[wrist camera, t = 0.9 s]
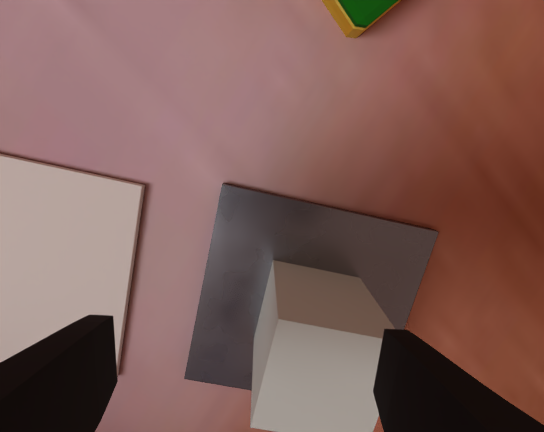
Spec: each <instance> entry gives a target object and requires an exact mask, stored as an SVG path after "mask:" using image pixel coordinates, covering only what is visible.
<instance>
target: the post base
mask: <svg viewBox="0 0 544 432" xmlns="http://www.w3.org/2000/svg"><path fill="white" fill-rule="evenodd" d="M438 233H439V232H438V231H436V230H434V229H429V228H425V227H420V226H416V225H411V224H407V223H402V222H397V221H393V220H388V219H384V218H379V217H375V216H370V215H366V214H361V213H357V212H352V211H348V210H343V209H339V208H334V207H330V206H325V205H321V204H316V203H312V202H307V201H303V200H298V199H293V198H289V197H284V196H280V195H275V194H271V193H266V192H262V191H257V190H253V189H248V188H244V187H239V186H235V185H230V184H226V183H223V184H222V188H221V193H220V198H219V203H218V208H217V213H216V219H215V224H214V229H213V234H212V239H211V244H210V249H209V254H208V260H207V265H206V270H205V275H204V280H203V285H202V290H201V295H200V301H199V306H198V311H197V316H196V321H195V326H194V331H193V337H192V342H191V347H190V352H189V357H188V362H187V367H186V372H185V378H184V379H188V380H194V381H200V382H205V383H211V384H217V385H223V386H229V387H235V388H241V389H247V390H252V372H253V346H254V336H255V332H256V328H257V324H258V319H259V315H260V311H261V307H262V303H263V299H264V295H265V291H266V287H267V282H268V278H269V274H270V270H271V266H272V262H273V260H275V261H280V262H285V263H290V264H295V265H300V266H305V267H310V268H315V269H320V270H324V271H329V272H334V273H339V274H344V275H349V276H354V277H359V278H360V279H361V280H362V282H363V283H364V285H365V286H366V288H367V289H368V290H369V292H370V293H371V295H372V296H373V298H374V299H375V300H376V302H377V303H378V305H379V306H380V308H381V309H382V311H383V312H384V313H385V315H386V316H387V318H388V319H389V321H390V322H391V323H392V325H393V326H394V328H395V329H402V330H404V327H405V325H406V322H407V319H408V316H409V313H410V311H411V308H412V305H413V302H414V299H415V297H416V294H417V291H418V288H419V286H420V283H421V280H422V277H423V274H424V272H425V269H426V266H427V263H428V260H429V258H430V255H431V252H432V249H433V246H434V244H435V241H436V238H437V235H438Z"/></svg>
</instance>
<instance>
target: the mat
mask: <svg viewBox="0 0 544 432" xmlns="http://www.w3.org/2000/svg"><path fill="white" fill-rule="evenodd" d="M144 189H145V185H143V184H139V183H134V182H130V181H125V180H120V179H116V178H111V177H106V176H102V175H97V174H93V173H88V172H83V171H79V170H74V169H70V168H65V167H60V166H56V165H51V164H46V163H42V162H37V161H33V160H28V159H23V158H19V157H14V156H9V155H5V154H0V362H2V361H4V360H6V359H8V358H10V357H11V356H13V355H15V354H17V353H19V352H21V351H22V350H24V349H26V348H28V347H30V346H31V345H33V344H35V343H37V342H39V341H40V340H42V339H44V338H46V337H48V336H49V335H51V334H53V333H55V332H57V331H58V330H60V329H62V328H64V327H66V326H68V325H69V324H71V323H73V322H75V321H77V320H79V319H81V318H83V317H85V316H87V315H110V316H113V319H114V335H115V350H116V365H117V377H118V373H119V366H120V359H121V352H122V345H123V338H124V331H125V324H126V317H127V309H128V302H129V295H130V288H131V281H132V274H133V267H134V260H135V253H136V246H137V239H138V231H139V224H140V217H141V210H142V203H143V196H144Z"/></svg>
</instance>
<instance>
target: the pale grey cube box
mask: <svg viewBox="0 0 544 432" xmlns="http://www.w3.org/2000/svg"><path fill="white" fill-rule="evenodd" d="M384 329H395V328H394V326H393V325H392V323H391V322H390V321H389V319H388V318H387V316H386V315H385V313H384V312H383V311H382V309H381V308H380V306H379V305H378V303H377V302H376V300H375V299H374V298H373V296H372V295H371V293H370V292H369V290H368V289H367V288H366V286H365V285H364V283H363V282H362V280H361V279H360V278H359V277H354V276H349V275H344V274H339V273H334V272H329V271H324V270H320V269H315V268H310V267H305V266H300V265H295V264H290V263H285V262H280V261H275V260H273V262H272V266H271V270H270V274H269V278H268V282H267V287H266V291H265V295H264V299H263V303H262V307H261V311H260V315H259V319H258V324H257V328H256V332H255V336H254V346H253V372H252V397H251V423H250V428H257V429H263V430H269V431H275V432H373V430H374V427H375V425H376V422H377V419H378V416H379V412H378V409H377V405H376V401H375V397H374V394H373V388H374V382H375V377H376V372H377V366H378V361H379V355H380V350H381V344H382V339H383V333H384Z"/></svg>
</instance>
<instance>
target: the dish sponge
mask: <svg viewBox="0 0 544 432" xmlns="http://www.w3.org/2000/svg"><path fill="white" fill-rule="evenodd" d="M322 1H323V3H324V4H325V6H326V7H327V9H328V10H329V12H330V13H331V15H332V16H333V18H334V19H335V21H336V22H337V24H338V25H339V27H340V28H341V30H342V31H343V33H344V34H345V36H346V37H350V38H357V37H358V36H359V35H360V34H362V33H363V32H364V31H365V30H366V29H368V28H369V27H370V26H371V25H372V24H374V23H375V22H376V21H377V20H378V19H380V18H381V17H382V16H383V15H384V14H385V13H387V12H388V11H389V10H390V9H391V8H393V7H394V6H395V5H396V4H397V3H399V2H400V1H401V0H322Z"/></svg>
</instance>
